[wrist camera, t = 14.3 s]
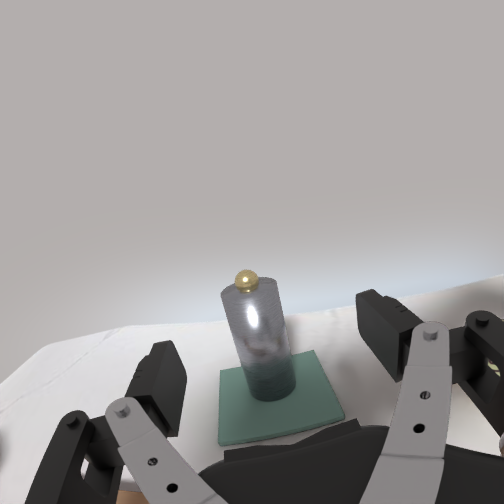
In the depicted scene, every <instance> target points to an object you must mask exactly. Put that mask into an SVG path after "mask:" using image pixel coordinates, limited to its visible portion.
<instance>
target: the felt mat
mask: <svg viewBox="0 0 504 504" xmlns="http://www.w3.org/2000/svg"><path fill="white" fill-rule="evenodd" d="M291 357H292V362H293V367H294V372H295V378H296V387H295V389H294V390H293V392H292V393H291V394H290V395H288V396H287V397H285V398H283V399H280V400H277V401H272V402H264V401H260V400H257V399H255V398H254V397H253V396H252V395H251V394H250V391H249V388H248V385H247V382H246V378H245V375H244V372H243V369H242V367H237V368H231V369H226V370H220V390H219V432H218V443H219V445H220V446H225V445H233V444H240V443H247V442H253V441H259V440H264V439H270V438H275V437H279V436H284V435H289V434H293V433H297V432H301V431H305V430H309V429H313V428H316V427H320V426H324V425H327V424H330V423H334V422H337V421H340V420H343V419H345V415H344V412H343V410H342V408H341V406H340V404H339V402H338V400H337V398H336V396H335V394H334V391H333V389H332V387H331V385H330V383H329V381H328V379H327V377H326V375H325V373H324V371H323V368H322V366H321V364H320V362H319V360H318V358H317V356H316V354H315V352H314V350H311V351H308V352H304V353H300V354H296V355H292V356H291Z"/></svg>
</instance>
